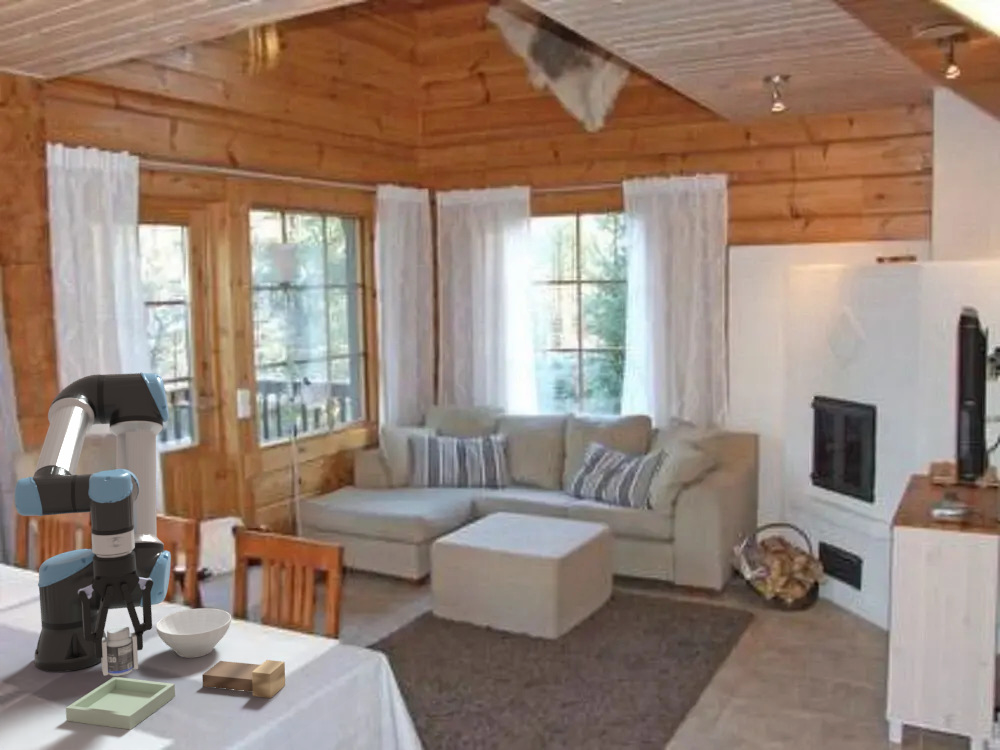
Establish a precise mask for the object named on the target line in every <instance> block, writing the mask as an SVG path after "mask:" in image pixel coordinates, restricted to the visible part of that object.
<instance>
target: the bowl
mask: <svg viewBox="0 0 1000 750" xmlns="http://www.w3.org/2000/svg"><path fill="white" fill-rule="evenodd" d="M231 623H232V616H231V613H229V612H227V611H226V610H223V609H218V608H208V607H207V608H206V607H205V608H192V609H185V610H181V611H176V612H174V613H171V614H168V615H166V616H164V617H162V618H161V619H160V620H158V621H157V622H156V624H155V625H156V626H155V629H156V632H157V635H158V637H159V638H160V639H161V640H162V641H163V643H164V644H165V645H166V646H168V647H169V648H170V649H172V650H173V651H174V652H176V654H177V655H178V656H179V657H180V658H181V657H183V658H189V659H191V658H199V657H203V656H207V655H209V654H210V653H212V651H213V650H214V649H215V647H216V646H217V645H218V644H219V642H220V641H221V640H222V639H223V638H224V636H225V635H226V634H227V633H228V630H229V629H230V626H231ZM206 654H207V655H206Z"/></svg>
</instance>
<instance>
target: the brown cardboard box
mask: <svg viewBox="0 0 1000 750" xmlns="http://www.w3.org/2000/svg"><path fill="white" fill-rule="evenodd" d="M260 665H261V664H259V663H258V664H257V663H256V664H255V663H248V662H247V663H246V662H236V661H224V660H219V661H218V662H216V663H215V664H214V665H213V666H212V667H210V668H209V669H208V670H207V671H205V672H204V673H203V674H202V687H203V686H204V687H203V688H209V687H216V688H215V689H219V688H226V689H225V690H229V689H234V690H233V691H238V690H244V691H243V692H248V691H253V687H252V671H254V670H255V669H256V668H257V667H259V666H260Z"/></svg>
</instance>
